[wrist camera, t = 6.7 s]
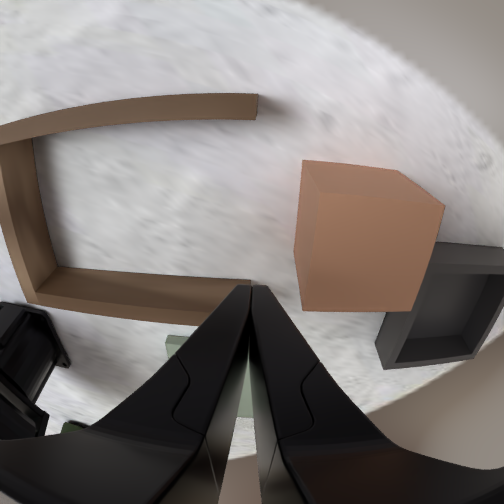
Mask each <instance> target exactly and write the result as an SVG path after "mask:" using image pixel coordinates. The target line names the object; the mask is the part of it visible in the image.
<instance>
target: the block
mask: <svg viewBox="0 0 504 504" xmlns="http://www.w3.org/2000/svg"><path fill="white" fill-rule="evenodd" d="M444 209H445V205H443V204H442V203H441V202H440V201H438V200H437V199H436V198H434V197H433V196H432V195H431V194H429V193H428V192H427V191H425V190H424V189H423V188H421V187H420V186H418V185H417V184H416V183H414V182H413V181H412V180H410V179H409V178H407V177H406V176H405V175H403V174H402V173H400V172H399V171H397V170H390V169H383V168H376V167H368V166H360V165H352V164H343V163H333V162H322V161H311V160H302V172H301V183H300V194H299V204H298V214H297V224H296V234H295V243H294V258H295V264H296V270H297V277H298V283H299V290H300V296H301V303H302V310H303V311H318V312H399V311H411V309H412V307H413V304H414V302H415V299H416V297H417V294H418V291H419V289H420V286H421V283H422V281H423V278H424V275H425V272H426V269H427V266H428V263H429V260H430V257H431V254H432V251H433V248H434V244H435V241H436V238H437V234H438V231H439V227H440V224H441V220H442V216H443V213H444Z"/></svg>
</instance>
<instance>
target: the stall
mask: <svg viewBox="0 0 504 504" xmlns="http://www.w3.org/2000/svg"><path fill="white" fill-rule="evenodd" d="M257 102H258V94H246V93H204V94H179V95H163V96H151V97H141V98H131V99H123V100H115V101H108V102H102V103H95V104H89V105H83V106H78V107H73V108H68V109H63V110H58V111H54V112H49V113H45V114H41V115H37V116H33V117H29V118H25V119H21V120H18V121H14V122H11V123H7V124H4V125H1V126H0V224H1V228H2V232H3V235H4V239H5V242H6V245H7V248H8V252H9V255H10V258H11V261H12V264H13V266H14V269H15V272H16V275H17V278H18V280H19V283H20V285H21V288H22V291H23V293H24V296H25V298H26V300H27V303H31V304H36V305H41V306H47V307H52V308H58V309H64V310H70V311H76V312H82V313H88V314H95V315H102V316H109V317H116V318H124V319H132V320H140V321H149V322H158V323H168V324H178V325H190V326H200V325H201V324H202V323H203V321H204V320H205V319H206V318H207V317H208V316H209V315H210V314H211V313H212V311H213V310H214V309H215V308H216V307H217V306H218V305H219V304H220V303H221V302H222V300H223V299H224V298H225V297H226V296H227V295H228V294H229V293H230V292H231V290H232V289H233V288H234V287H235V286H236V285H237V284H248V285H250V284H251V280H239V279H220V278H203V277H186V276H171V275H156V274H142V273H129V272H116V271H103V270H92V269H80V268H69V267H58V266H57V262H56V259H55V255H54V252H53V248H52V245H51V241H50V237H49V233H48V229H47V225H46V220H45V216H44V212H43V207H42V202H41V197H40V192H39V186H38V180H37V174H36V168H35V161H34V153H33V145H32V137H37V136H42V135H48V134H53V133H59V132H65V131H71V130H77V129H84V128H91V127H99V126H108V125H117V124H127V123H138V122H152V121H170V120H202V119H231V120H256V116H257Z"/></svg>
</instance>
